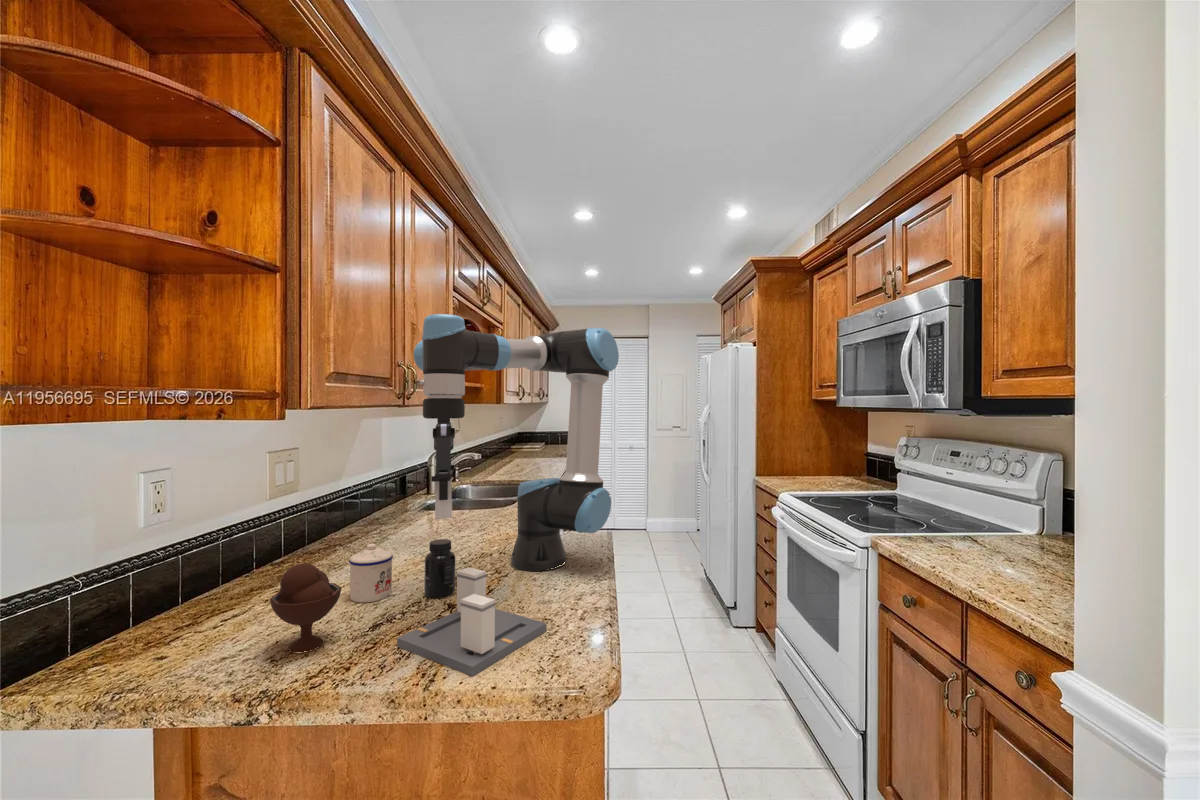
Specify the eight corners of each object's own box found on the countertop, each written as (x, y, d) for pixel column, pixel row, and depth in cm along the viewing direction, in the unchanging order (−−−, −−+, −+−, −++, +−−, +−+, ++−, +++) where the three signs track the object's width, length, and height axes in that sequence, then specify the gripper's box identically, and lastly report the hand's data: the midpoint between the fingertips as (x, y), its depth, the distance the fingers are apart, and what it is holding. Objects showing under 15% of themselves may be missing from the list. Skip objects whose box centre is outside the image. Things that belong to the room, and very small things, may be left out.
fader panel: (475, 610, 105) (475, 602, 105) (546, 631, 95) (546, 622, 95) (396, 646, 89) (396, 637, 89) (472, 676, 79) (472, 666, 79)
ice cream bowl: (342, 651, 87) (343, 565, 88) (266, 667, 82) (267, 575, 82) (340, 627, 96) (340, 550, 97) (271, 641, 91) (272, 558, 91)
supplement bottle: (417, 597, 112) (418, 543, 113) (436, 586, 119) (437, 536, 119) (443, 600, 110) (443, 546, 110) (461, 590, 117) (461, 539, 117)
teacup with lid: (381, 603, 109) (382, 550, 109) (340, 603, 109) (341, 550, 109) (404, 584, 121) (404, 536, 121) (366, 584, 121) (367, 536, 121)
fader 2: (473, 645, 87) (473, 593, 87) (495, 652, 85) (495, 599, 85) (460, 652, 85) (460, 599, 85) (481, 660, 82) (481, 605, 82)
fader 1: (468, 611, 102) (468, 567, 102) (486, 616, 99) (486, 571, 100) (456, 616, 99) (456, 571, 100) (474, 622, 97) (474, 575, 97)
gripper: (425, 398, 104) (425, 499, 104) (418, 395, 80) (418, 527, 80) (462, 398, 107) (462, 497, 106) (466, 396, 83) (466, 523, 82)
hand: (443, 510), depth 93 cm, fingers open, 13 cm apart
